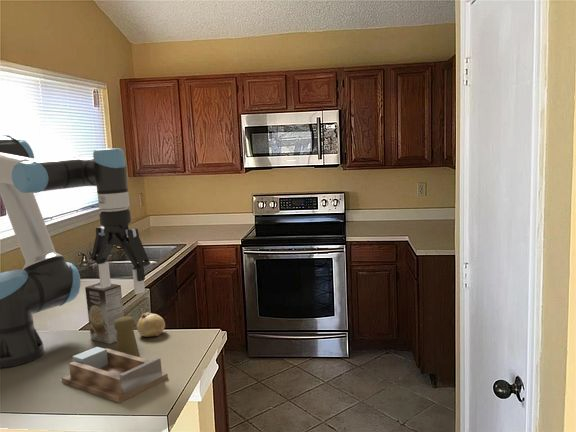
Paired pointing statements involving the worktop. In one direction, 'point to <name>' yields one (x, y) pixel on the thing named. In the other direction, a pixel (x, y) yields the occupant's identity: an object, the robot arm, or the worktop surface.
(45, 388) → the worktop surface
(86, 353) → the block
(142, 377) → the rail board
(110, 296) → the coffee box
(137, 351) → the cork
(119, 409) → the worktop surface
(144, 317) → the onion
